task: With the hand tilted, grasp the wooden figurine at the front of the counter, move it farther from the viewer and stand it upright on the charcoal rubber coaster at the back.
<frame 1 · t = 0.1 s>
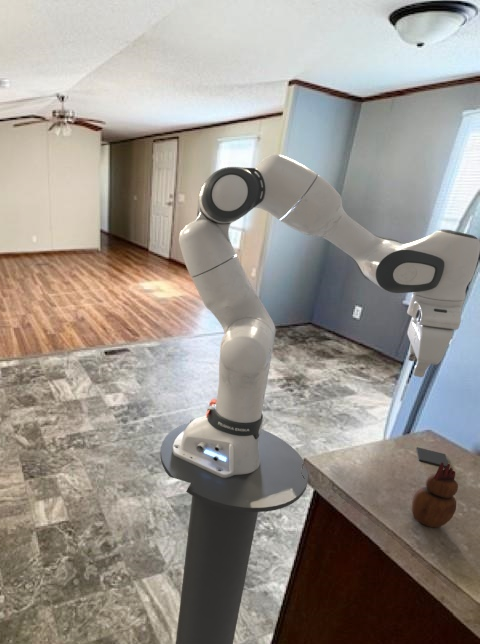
hand: (414, 367, 95), 26 cm above the countertop, tool pointing down, fingers open, 8 cm apart
coaster: (431, 458, 107), on the countertop
wooden figurine: (425, 521, 88), on the countertop
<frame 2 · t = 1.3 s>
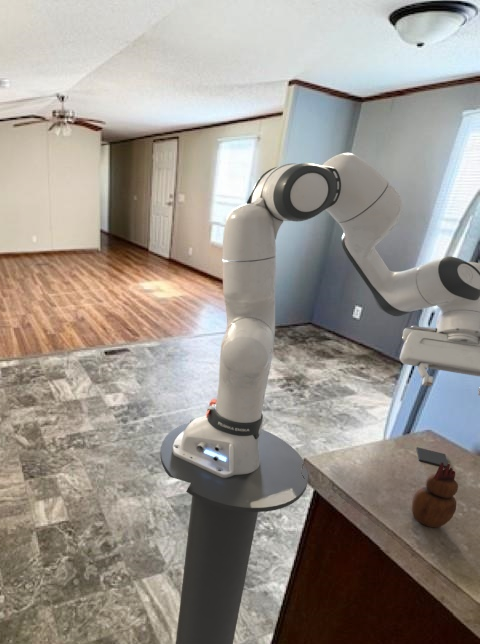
hand: (454, 390, 88), 25 cm above the countertop, tool tilted 45°, fingers open, 8 cm apart
nothing on the countertop moved.
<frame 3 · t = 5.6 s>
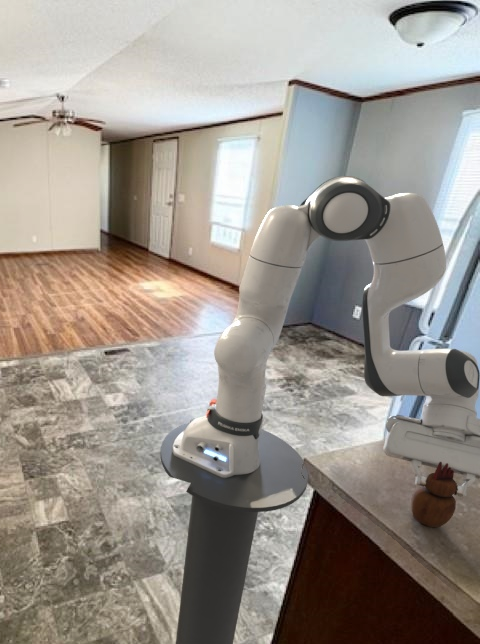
hand: (439, 490, 84), 8 cm above the countertop, tool tilted 45°, fingers closed on wooden figurine, 5 cm apart
wooden figurine: (426, 521, 88), on the countertop, touching gripper
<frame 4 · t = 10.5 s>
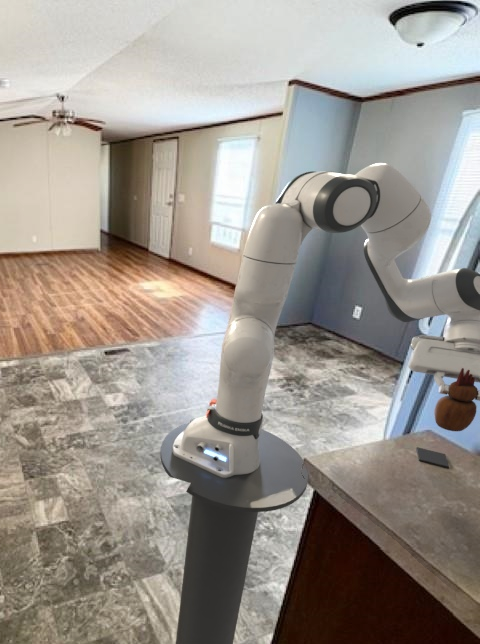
hand: (461, 396, 92), 22 cm above the countertop, tool tilted 45°, fingers closed on wooden figurine, 5 cm apart
wooden figurine: (448, 428, 96), point 13 cm above the countertop, touching gripper
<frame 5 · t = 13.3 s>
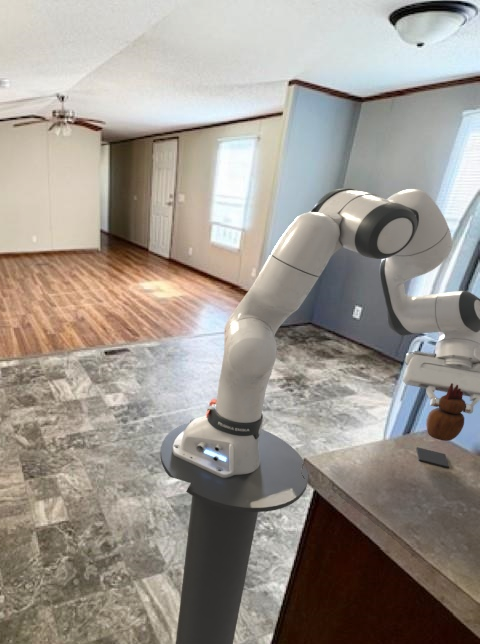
hand: (451, 409, 101), 15 cm above the countertop, tool tilted 45°, fingers closed on wooden figurine, 5 cm apart
wooden figurine: (439, 437, 105), point 6 cm above the countertop, touching gripper
when the fingers open (9 cm above the countertop, at t = 15.3 s): wooden figurine stays where it is, resting on coaster.
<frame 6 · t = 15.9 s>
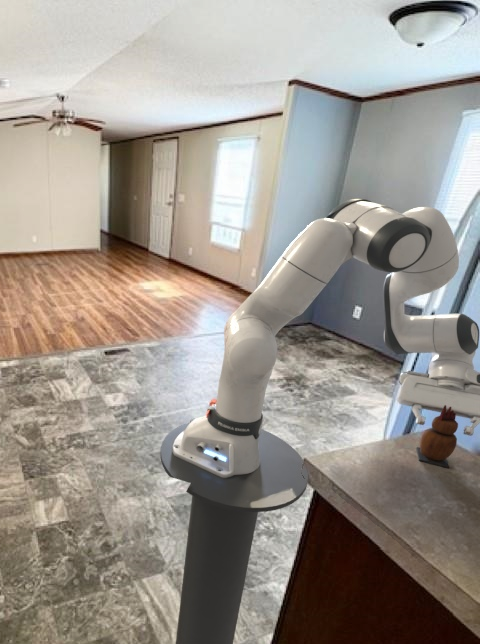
hand: (443, 429, 103), 9 cm above the countertop, tool tilted 45°, fingers open, 8 cm apart
wooden figurine: (431, 457, 107), resting on coaster
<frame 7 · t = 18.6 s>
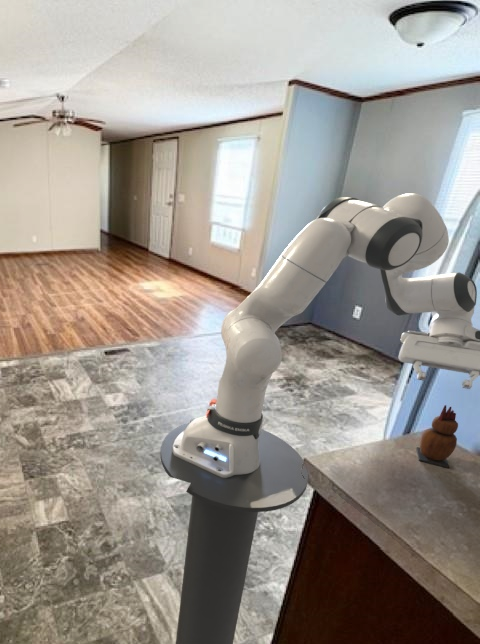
hand: (443, 383, 108), 17 cm above the countertop, tool tilted 45°, fingers open, 8 cm apart
nothing on the countertop moved.
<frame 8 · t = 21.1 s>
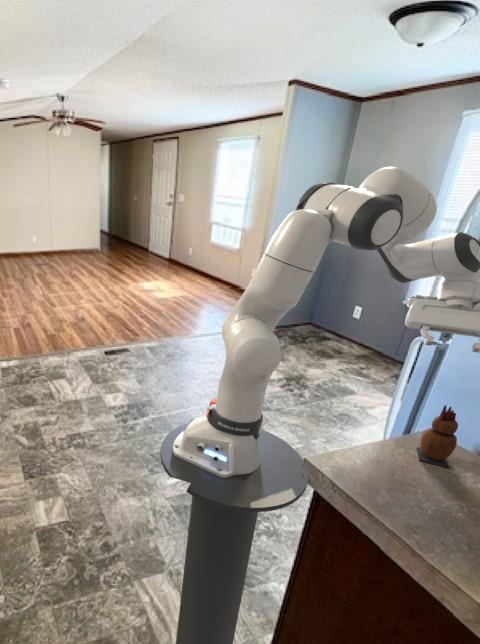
hand: (452, 347, 103), 27 cm above the countertop, tool tilted 45°, fingers open, 8 cm apart
nothing on the countertop moved.
at the end: wooden figurine 0.1 cm off-centre on the coaster, point 0.3 cm above the coaster's base; wooden figurine tilted 0°; the gripper is holding nothing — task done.
